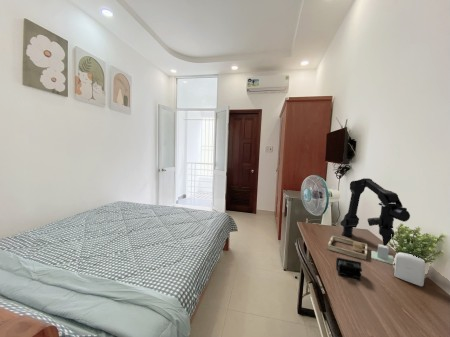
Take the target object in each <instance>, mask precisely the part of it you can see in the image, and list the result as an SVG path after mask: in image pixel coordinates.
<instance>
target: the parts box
mask: <svg viewBox="0 0 450 337" xmlns="http://www.w3.org/2000/svg"><path fill="white" fill-rule="evenodd" d="M389 250H390V248H389V246H388V245H386V246H384V245H383V244H380V243H378V245H377V251H376V252H377V257H379V258H383V259H386V260H388V255H389V252H390V251H389Z"/></svg>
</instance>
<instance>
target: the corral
mask: <svg viewBox="0 0 450 337" xmlns="http://www.w3.org/2000/svg"><path fill="white" fill-rule="evenodd" d="M334 241H335V242H340V243H343V244H348V245H350V246H351V245H352V246H353V242H358V243H361V244H362V249H363V248H364V253H362V252H358V251H354V250H350V249H345V248H342V247H338V246H334V245H332V244H333V242H334ZM326 249H327V250H329V251H332V252H336V253H340V254H342V255H347V256H350V257H354V258H357V259H362V260H364V261H366V260H367V254H368V244H367V243H365V242H359V241H358V240H357V241H356V240H352V239H347V238H344V237H339V236H335V235H331V237H330V238H329V241H328V243H327V247H326Z"/></svg>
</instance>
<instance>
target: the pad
mask: <svg viewBox="0 0 450 337" xmlns="http://www.w3.org/2000/svg"><path fill="white" fill-rule="evenodd" d="M377 252H378V251H374V250H371V253H370V254H371V256H370V257H371V259H372V260H375V261H379V262H382V263H386V264H390V265H393V264H392V263H393V260H394V261H395V259H394V255H390V254H388V260H386V259H383V258H379V257H377Z"/></svg>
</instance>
